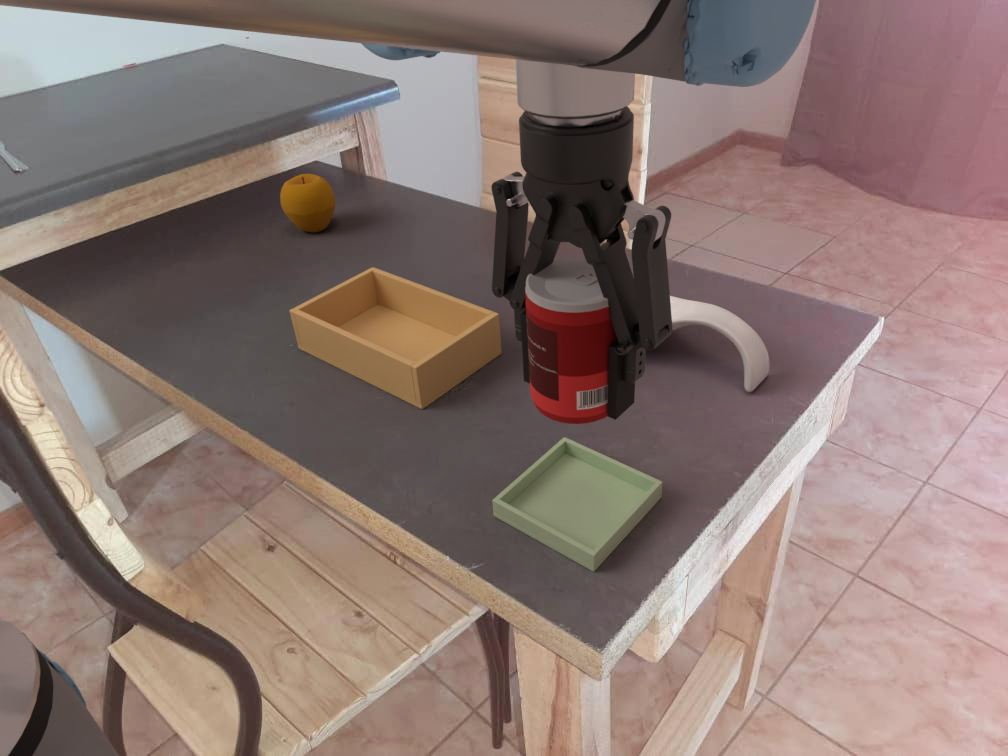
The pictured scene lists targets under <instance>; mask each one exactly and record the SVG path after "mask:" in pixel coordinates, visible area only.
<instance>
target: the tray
mask: <svg viewBox="0 0 1008 756" xmlns="http://www.w3.org/2000/svg"><path fill="white" fill-rule="evenodd" d="M662 494H663V481H662V480H660V479H658V478H656V477H653V476H651V475H649V474H646V473H645V472H642V471H640V470H638V469H636V468H634V467H631V466H629V465H627V464H624V463H623V462H620V461H619V460H616V459H614V458H612V457H609V456H607V455H605V454H603V453H600V452H598V451H596V450H594V449H592V448H590V447H587V446H586V445H583V444H581V443H579V442H577V441H574V440H572V439H570V438H568V437H565V436H564V437H562V438H561V439H560V440H558V442H556V443H555V445H553V446H552V447H551V448H549V449H548V450H547V451H546V452H545V453H544V454H543V455H542V456H541V457H540V458H539V459H538V460H536V461H535V462H534V463H532V465H531V466H529V467H528V468H527V469H525V471H523V472H522V473H521V474H520V475H518V477H516V478H515V480H513V481H512V482H511V483H509V485H507V487H505V488H504V489H503V490H502V491H500V492H499V493H498V494H497V496H496V497H494V498H493V499H492V500H491V501H492V503H491V504H492V513H493V517H494V518H496V519H498V520H500V521H502V522H504V523H506V524H507V525H509V526H511V527H512V528H514V529H516V530H518V531H520V532H522V533H523V534H525V535H527V536H529V537H531V539H534V540H536V541H538V542H539V543H541V544H543V545H545V546H546V547H548V548H550V549H552V550H554V551H556V552H557V553H559V554H561V555H563V556H564V557H566V558H568V559H570V560H571V561H573V562H575V563H577V564H579V565H580V566H582V567H584V568H586V569H588V570H590V571H591V572H594V573H595V571H596V570H597V569H598V568H599V567H600V566H601V565H602V564H603V563H604V562H605V560H607V558H608V557H609V556H610V555H611V554H612V553H613V552H614V551H615V549H616V548H617V547H618V546H619V545H620V544H621V543H622V542H623V540H625V538H626V537H627V536H628V535H629V534H630V533H631V532H632V531H633V530H634V528H636V526H637V525H638V524H640V522H642V520H643V519H644V518H645V516H647V514H648V513H649V512H650V511H651V510H652V509H653V507H655V505H656V504H657V503H658V502H659V501H660V500H661V499H662Z"/></svg>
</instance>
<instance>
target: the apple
mask: <svg viewBox="0 0 1008 756" xmlns="http://www.w3.org/2000/svg"><path fill="white" fill-rule="evenodd" d="M279 200H280V207H281V208H282V211H283V213H284V214H285V215H286V217H287V219H288V220H290V222H291V223H292V224H293V225H294V226H295V227H296V228H298V229H299V230H301V231H303V232H307V233H319V232H322V231H323V230H325V229H327V227H328V226H329V224H330V223H331V220H332V218H333V216H334V212H335V209H336V196H335V193H334V191H333V189H332V186H331V184H330V183H329V182H328V181H327V180H326V179H325V178H324V177H322V176H320V175H317V174H315V173H314V174H313V173H301V174H298V175H296V176H293V177H292V178H290V179H288V180H287V181H285V182H284V183H283V185H282V187H281V188H280V195H279Z"/></svg>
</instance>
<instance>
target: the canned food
mask: <svg viewBox="0 0 1008 756" xmlns="http://www.w3.org/2000/svg"><path fill="white" fill-rule="evenodd" d="M525 294H526V319H527V337H528V356H529V374H530V383H529V388H530V389H529V391H530V397H531V399H532V402H533V403H534V406H535V408H536V409H537V411H538V412H539V413H540V414H541V415H542V416H544V417H546V418H548V419H550V420H551V421H555V422H558V423H563V424H569V425H582V424H591V423H595V422H597V421H598V422H599V421H600V420H603V419H606V418H608V371H609V346H610V345H612V344H613V343H614V342H615V341H616V340H618V339H617V336H616V333H615V330H614V327H613V324H612V321H611V318H610V315H609V305H608V299H607V298H603V295H602V292H601V289H600V286H599V283H598V280H597V277H596V274H595V271H594V268H593V266H592V265H590V264H588V263H587V261H586V259H585V256H584V255H582V256H579V255H578V256H567V257H561V258H557V259H556V258H555V259H554V260H553V263H552V264H551V265H549V266H548V267H546V268H545V269H543V270H542V271H540V272H538V273H537V274H535V275H532V274H529V275H528V276H527V279H526V287H525Z"/></svg>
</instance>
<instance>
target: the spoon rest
mask: <svg viewBox="0 0 1008 756" xmlns="http://www.w3.org/2000/svg"><path fill="white" fill-rule="evenodd" d="M670 304H671V316H672V329H673V330H672V332H673V331H675V330H677V329H680V328H683V327H686V326H697V325H698V326H703V327H704V326H705V327H707V328H711V329H713V330H715V331H717V332H718V333H720V334H722V335H723V336H725V337H726V338H727V339H728V340H729V341H731V342H732V344H733V345H734V346H735V348H736V349H737V351H738V352H739V354H740V356H741V359H742V364H743V376H744V377H743V378H744V380H743V381H744V382H743V387H744V390H745V391H746V392H747V393H752V392H753V391H754V390H755V389H756V388H757V387H758V386H759V385H760V384H761V383H762V382H763V381H764V380H765V379H766V378H767V376H768V375H769V373H770V368H771V367H770V357H769V356H770V355H769V352H768V349H767V347H766V345H765V343H764V341H763V340H762V338H761V337H760V335H759V334H758V333H757V332H756V330H754V328H752V327H751V325H749V324H748V323H747V322H746V321H745V320H743V319H742V318H740V317H739V316H738V315H736V314H734V313H733V312H731V311H729V310H727V309H726V308H723V307H722V306H718V305H716V304H712V303H708V302H703V301H699V300H698V301H697V300H692V299H685V298H681V297H677V296H673V295H670Z"/></svg>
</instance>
